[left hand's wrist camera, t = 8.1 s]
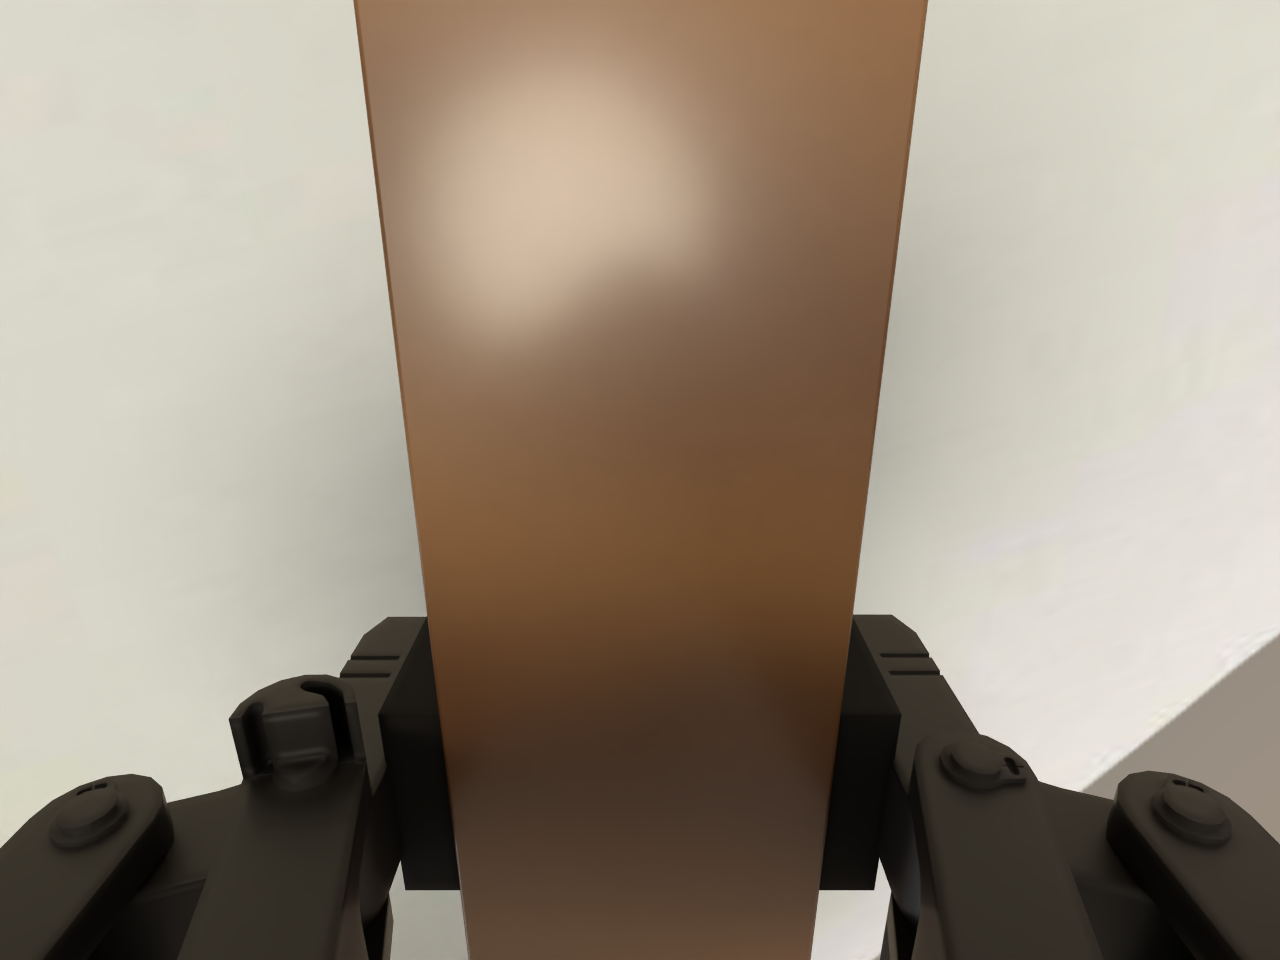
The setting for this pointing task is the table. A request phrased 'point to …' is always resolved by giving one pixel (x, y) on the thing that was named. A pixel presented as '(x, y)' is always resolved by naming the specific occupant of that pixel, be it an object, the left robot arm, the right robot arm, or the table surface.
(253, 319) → the table surface
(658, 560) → the post
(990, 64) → the table surface
